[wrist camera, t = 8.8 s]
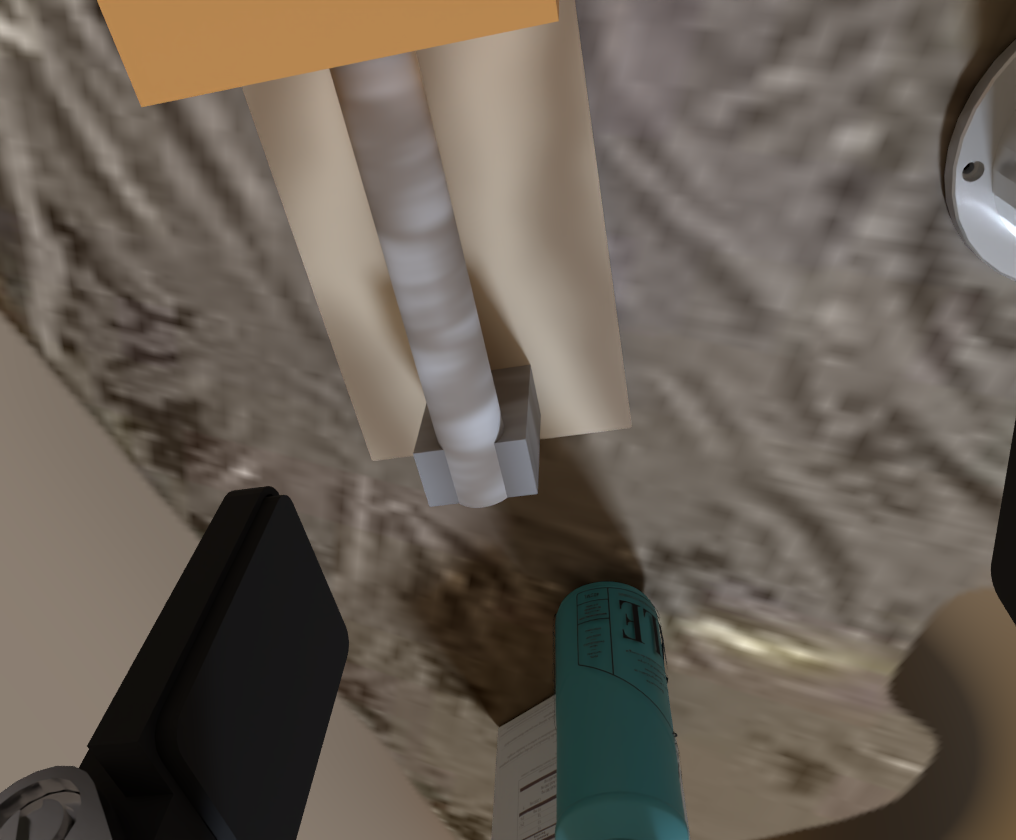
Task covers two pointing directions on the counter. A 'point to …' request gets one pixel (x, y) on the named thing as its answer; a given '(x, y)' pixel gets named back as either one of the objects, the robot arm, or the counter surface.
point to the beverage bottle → (614, 720)
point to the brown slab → (289, 36)
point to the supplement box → (530, 776)
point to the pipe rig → (456, 250)
